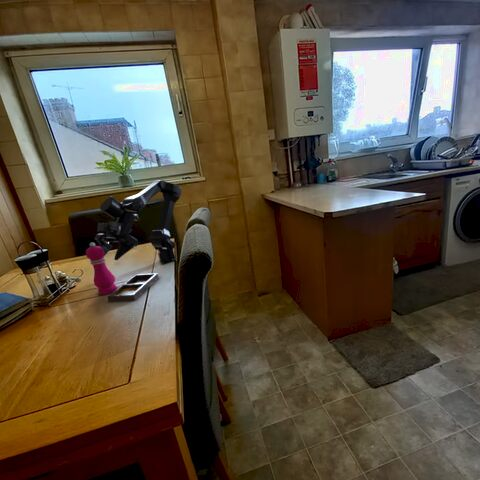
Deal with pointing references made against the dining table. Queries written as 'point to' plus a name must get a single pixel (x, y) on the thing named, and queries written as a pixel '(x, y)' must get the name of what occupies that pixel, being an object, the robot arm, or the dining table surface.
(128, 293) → the stand
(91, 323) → the dining table surface
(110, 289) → the pepper mill
